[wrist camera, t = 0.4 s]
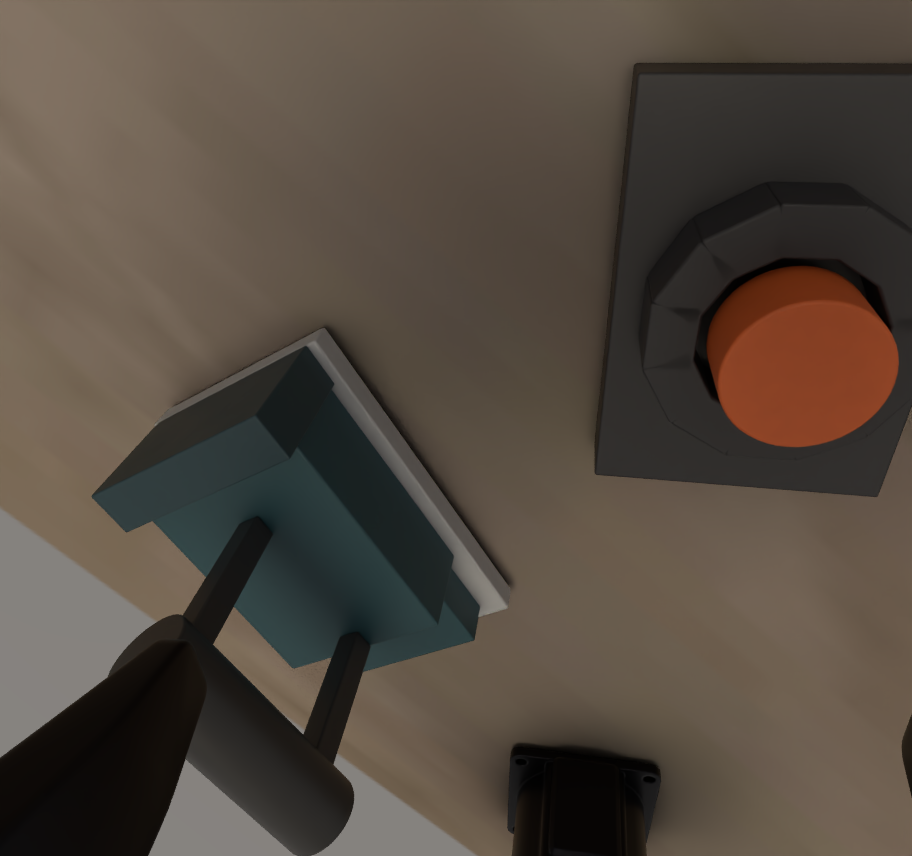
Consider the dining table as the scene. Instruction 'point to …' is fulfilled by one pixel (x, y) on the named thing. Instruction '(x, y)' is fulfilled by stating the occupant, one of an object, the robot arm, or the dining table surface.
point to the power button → (800, 357)
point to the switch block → (751, 256)
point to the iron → (299, 566)
